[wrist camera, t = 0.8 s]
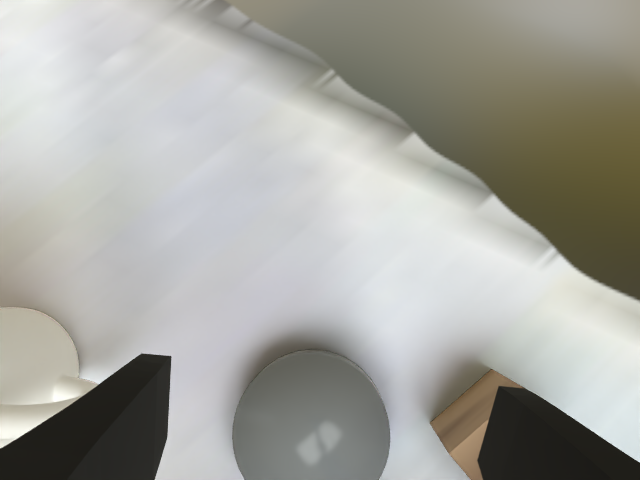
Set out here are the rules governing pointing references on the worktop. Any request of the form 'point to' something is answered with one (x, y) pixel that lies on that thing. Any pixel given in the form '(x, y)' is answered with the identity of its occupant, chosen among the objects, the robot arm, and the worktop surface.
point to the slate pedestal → (311, 421)
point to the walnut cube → (469, 422)
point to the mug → (35, 371)
